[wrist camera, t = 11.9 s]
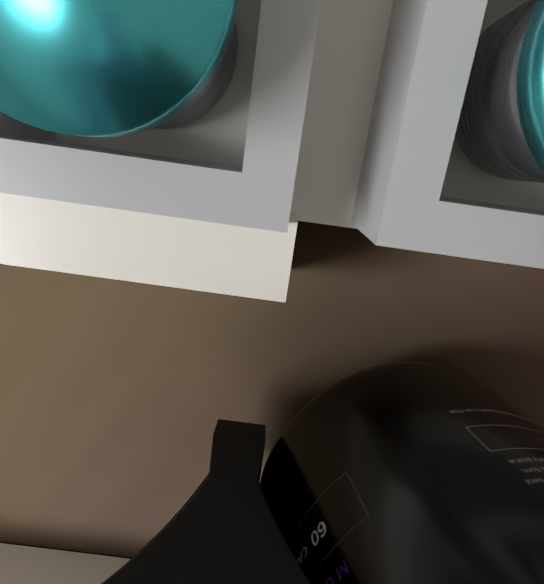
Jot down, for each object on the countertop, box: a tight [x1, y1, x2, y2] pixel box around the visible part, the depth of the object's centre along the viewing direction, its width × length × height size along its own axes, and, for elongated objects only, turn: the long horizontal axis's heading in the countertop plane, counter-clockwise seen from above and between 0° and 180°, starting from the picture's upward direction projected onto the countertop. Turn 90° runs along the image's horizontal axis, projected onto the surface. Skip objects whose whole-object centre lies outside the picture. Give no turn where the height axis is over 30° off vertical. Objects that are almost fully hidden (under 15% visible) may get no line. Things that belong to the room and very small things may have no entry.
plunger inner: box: [0, 0, 239, 138], centre depth 6 cm, size 4×4×4 cm
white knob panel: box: [0, 0, 544, 584], centre depth 9 cm, size 18×21×4 cm
